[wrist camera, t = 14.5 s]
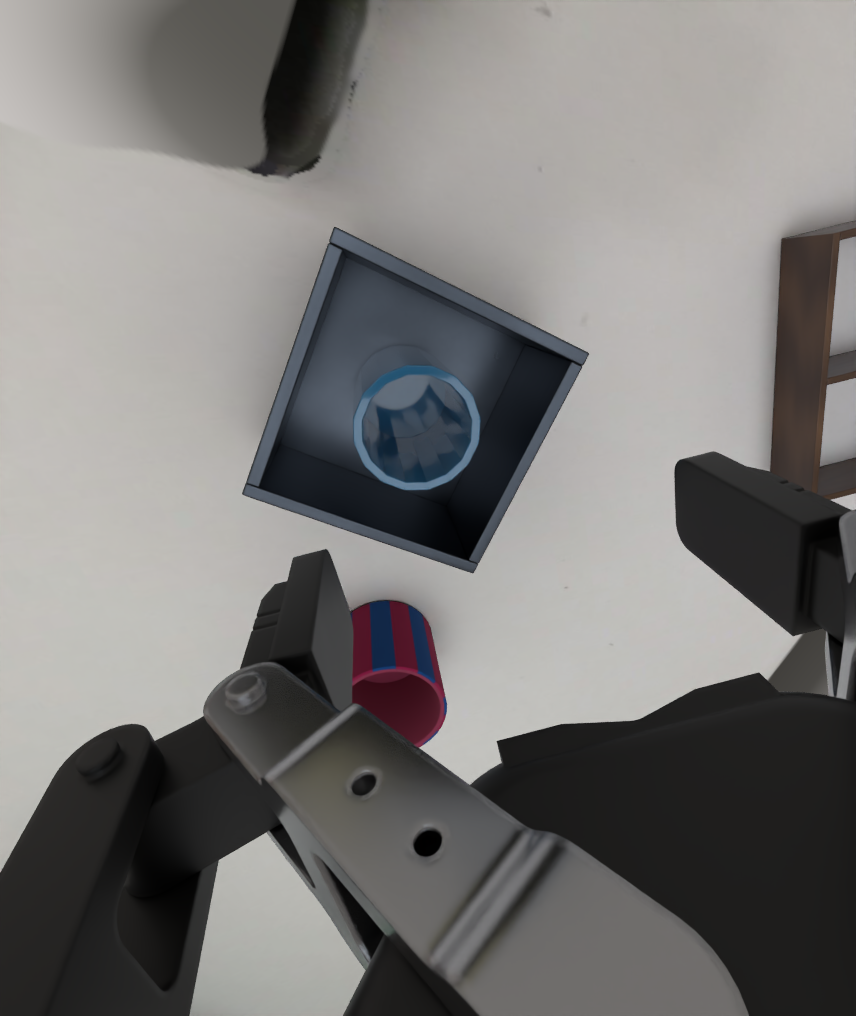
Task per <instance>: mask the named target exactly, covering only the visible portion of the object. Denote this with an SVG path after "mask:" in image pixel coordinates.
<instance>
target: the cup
mask: <svg viewBox="0 0 856 1016" xmlns="http://www.w3.org/2000/svg"><path fill="white" fill-rule="evenodd" d="M350 615H351V619H352V625H353V672H352V703H356V704H359V705H361V706H362V707H364V708H365V709H367V710H368V711H369V712H371V713H372V714H373V715H375V716H376V717H378V718H379V719H380V720H382V721H383V722H384V723H386V724H387V725H388V726H390V727H391V728H393V729H394V730H395V731H397V732H398V733H399V734H401V735H402V736H403V737H405V738H406V739H407V740H409V741H410V742H412V743H413V744H414V745H416V746H417V747H418V748H419V747H421V746H422V745H424V744H425V743H427V742H428V741H429V740H431V739H432V738H433V737H434V736H435V735H436V734H437V732H438V731H439V729H440V728H441V727H442V724H443V722H444V720H445V717H446V712H447V703H446V698H445V693H444V689H443V684H442V679H441V675H440V670H439V665H438V661H437V656H436V651H435V647H434V642H433V637H432V633H431V628H430V626H429V624H428V622H427V620H426V619H425V617H424V616H423V615H422V614H421V613H420V612H419V611H417V610H416V609H414V608H413V607H411V606H409V605H406V604H404V603H400V602H396V601H377V602H373V603H369V604H366V605H364V606H361V607H359V608H358V609H356V610H354V611H353V612H352V613H350Z"/></svg>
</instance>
